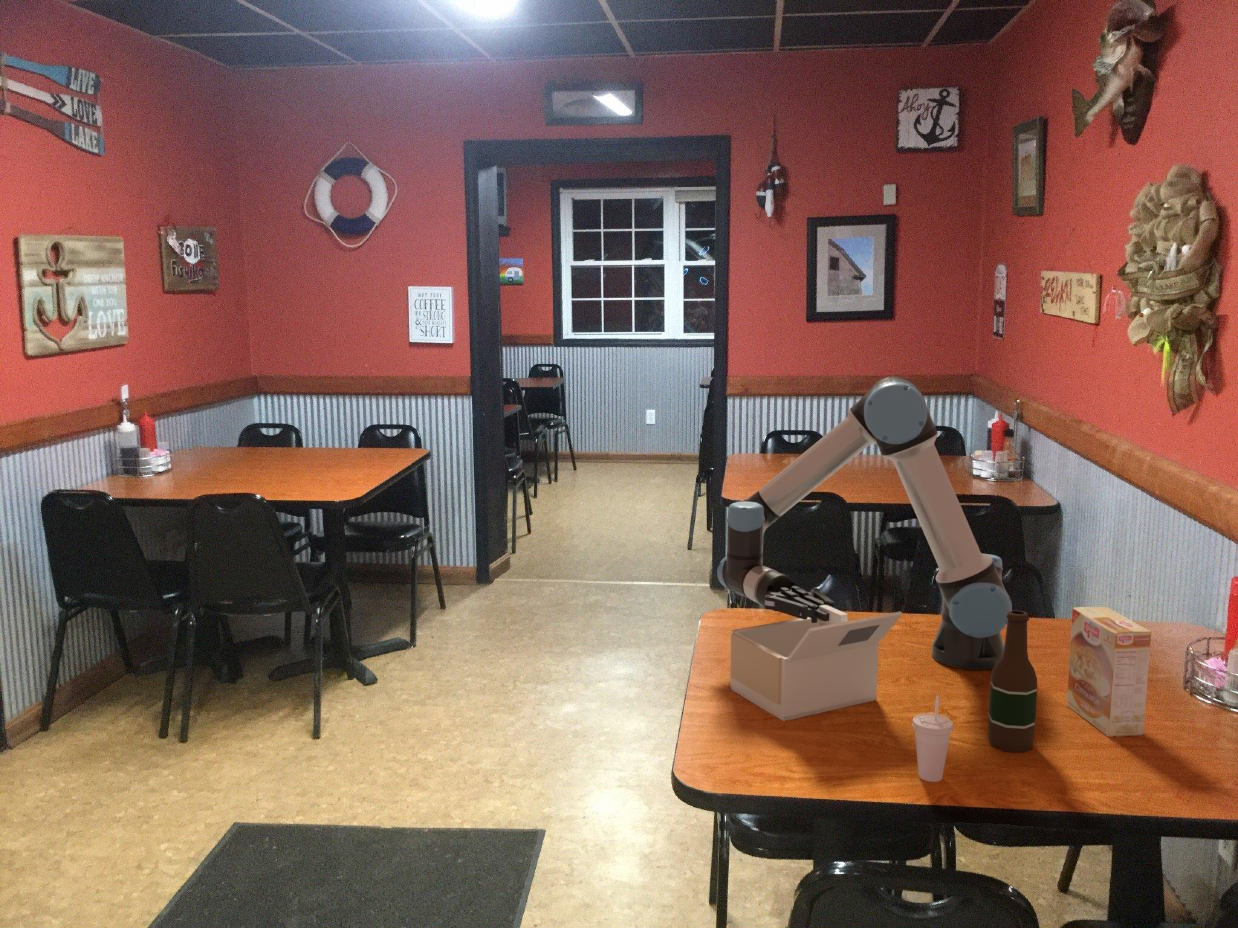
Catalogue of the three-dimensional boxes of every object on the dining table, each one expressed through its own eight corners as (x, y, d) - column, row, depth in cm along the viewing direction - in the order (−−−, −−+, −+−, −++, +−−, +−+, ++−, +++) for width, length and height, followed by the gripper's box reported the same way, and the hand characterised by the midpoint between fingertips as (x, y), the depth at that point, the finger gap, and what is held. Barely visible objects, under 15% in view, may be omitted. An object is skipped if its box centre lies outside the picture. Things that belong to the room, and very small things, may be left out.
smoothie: (955, 785, 172) (959, 703, 170) (915, 785, 172) (919, 703, 170) (944, 767, 178) (948, 688, 176) (905, 767, 178) (909, 688, 176)
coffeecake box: (1064, 704, 205) (1071, 606, 201) (1100, 703, 205) (1107, 605, 202) (1106, 737, 190) (1114, 632, 187) (1145, 735, 191) (1153, 630, 187)
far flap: (809, 628, 189) (811, 631, 189) (900, 611, 198) (902, 614, 198) (786, 658, 196) (788, 661, 196) (876, 640, 205) (878, 644, 205)
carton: (726, 688, 214) (726, 631, 212) (819, 669, 224) (821, 614, 222) (780, 721, 197) (782, 659, 195) (878, 699, 208) (881, 640, 206)
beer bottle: (1028, 757, 182) (1037, 621, 178) (982, 747, 186) (989, 614, 182) (1038, 740, 189) (1046, 609, 185) (992, 731, 193) (999, 603, 189)
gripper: (796, 602, 220) (871, 636, 199) (742, 610, 214) (814, 646, 193) (797, 567, 218) (873, 597, 198) (743, 574, 213) (815, 606, 192)
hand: (843, 621), depth 195 cm, fingers closed
